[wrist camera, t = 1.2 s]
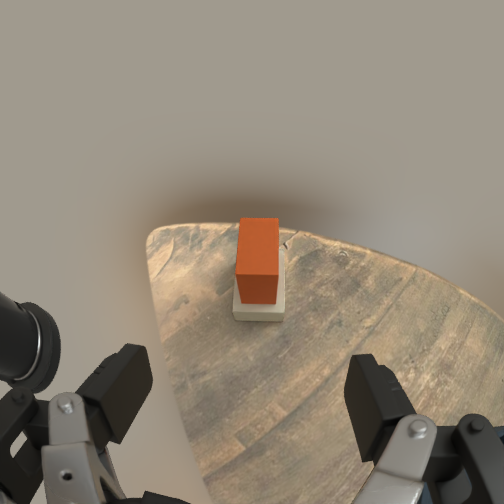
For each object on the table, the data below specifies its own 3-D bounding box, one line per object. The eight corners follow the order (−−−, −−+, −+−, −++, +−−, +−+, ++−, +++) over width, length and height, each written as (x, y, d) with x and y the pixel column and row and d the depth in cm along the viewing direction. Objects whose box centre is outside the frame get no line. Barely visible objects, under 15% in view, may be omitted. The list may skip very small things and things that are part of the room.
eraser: (283, 321, 25) (289, 285, 18) (234, 320, 25) (223, 283, 19) (282, 261, 29) (287, 210, 22) (239, 260, 29) (231, 210, 22)
